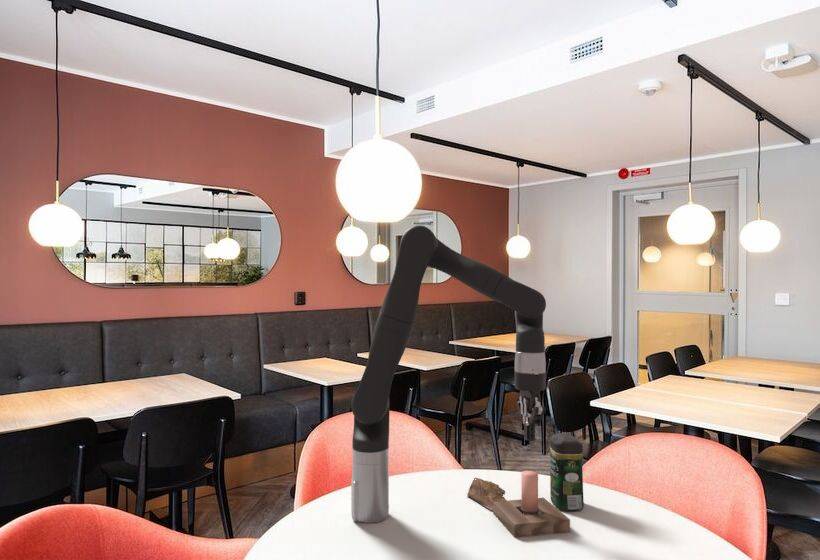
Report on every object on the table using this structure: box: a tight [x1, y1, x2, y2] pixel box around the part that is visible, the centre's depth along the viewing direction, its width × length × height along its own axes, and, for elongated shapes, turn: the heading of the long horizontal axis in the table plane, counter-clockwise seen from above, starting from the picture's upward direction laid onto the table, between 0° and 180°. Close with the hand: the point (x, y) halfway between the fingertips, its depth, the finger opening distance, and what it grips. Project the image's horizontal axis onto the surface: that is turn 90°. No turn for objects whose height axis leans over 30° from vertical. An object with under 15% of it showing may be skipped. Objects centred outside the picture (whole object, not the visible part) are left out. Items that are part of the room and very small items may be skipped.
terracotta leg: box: [520, 470, 539, 516], centre depth 134 cm, size 4×4×12 cm
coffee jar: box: [549, 432, 584, 512], centre depth 145 cm, size 10×8×19 cm
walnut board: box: [492, 497, 571, 538], centre depth 134 cm, size 14×14×3 cm
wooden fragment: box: [466, 477, 508, 512], centre depth 154 cm, size 26×11×1 cm, turn 0°
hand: (529, 440), depth 134 cm, fingers closed
